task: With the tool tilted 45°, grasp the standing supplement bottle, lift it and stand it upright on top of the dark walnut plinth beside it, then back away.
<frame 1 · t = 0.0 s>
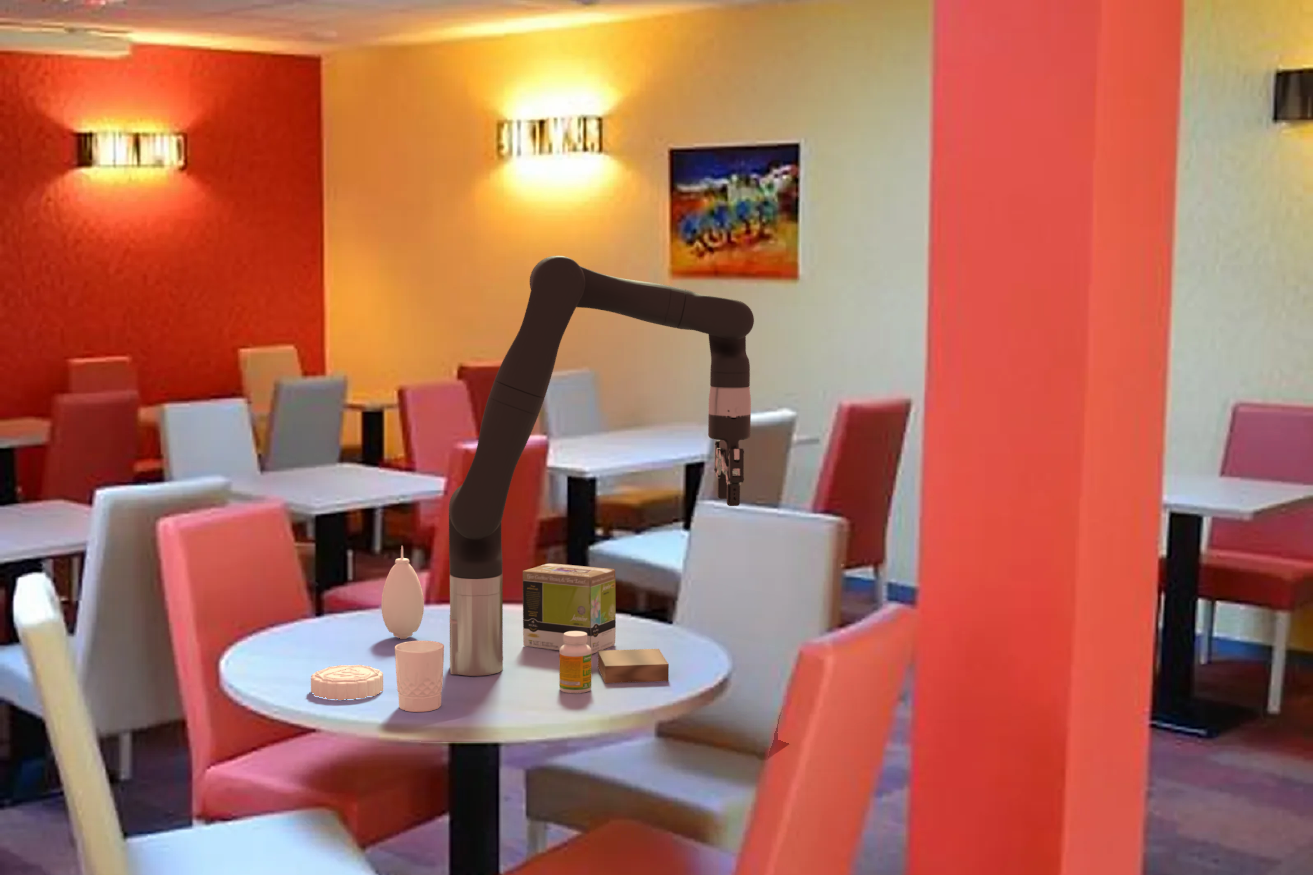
hand: (728, 502, 283), 29 cm above the table, tool pointing down, fingers open, 8 cm apart
peach drinking glass: (420, 707, 257), on the table
tea box: (569, 647, 298), on the table
walnut plinth: (632, 673, 278), on the table
supplement bottle: (575, 691, 267), on the table
air blower bulb: (403, 638, 303), on the table
mooncake: (347, 693, 266), on the table
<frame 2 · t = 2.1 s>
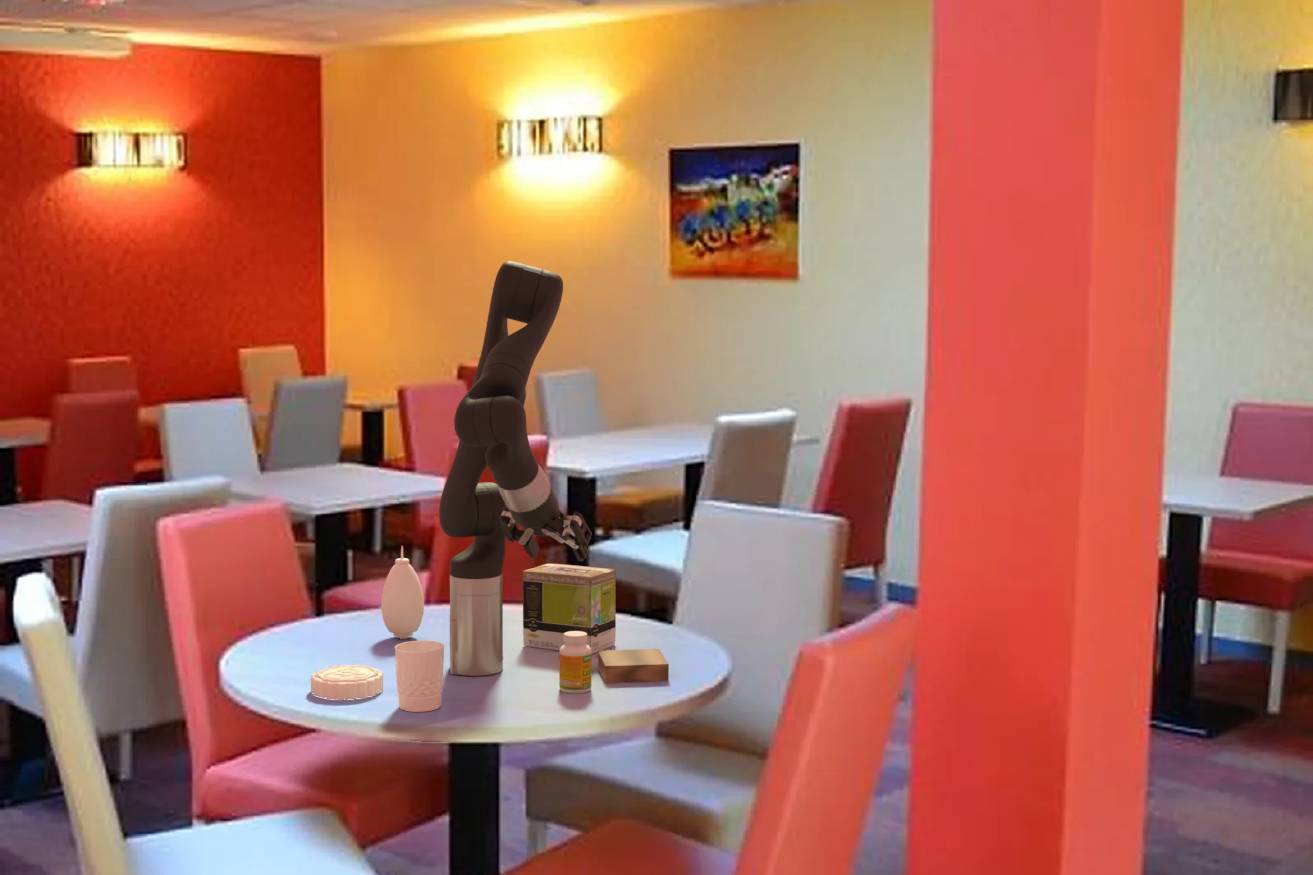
hand: (559, 555, 257), 24 cm above the table, tool tilted 45°, fingers open, 8 cm apart
nothing on the table moved.
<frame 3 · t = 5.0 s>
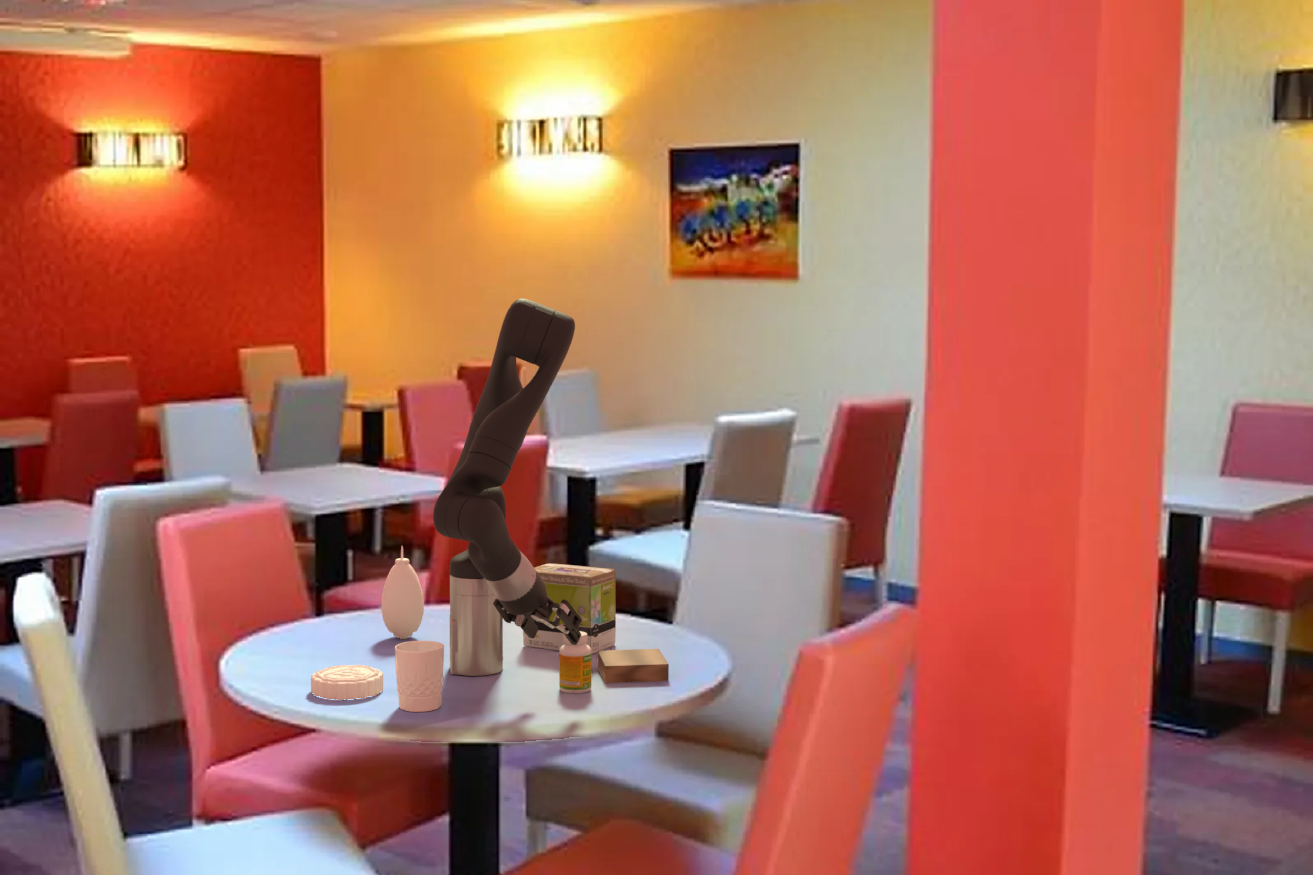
hand: (555, 637, 261), 10 cm above the table, tool tilted 45°, fingers open, 8 cm apart
nothing on the table moved.
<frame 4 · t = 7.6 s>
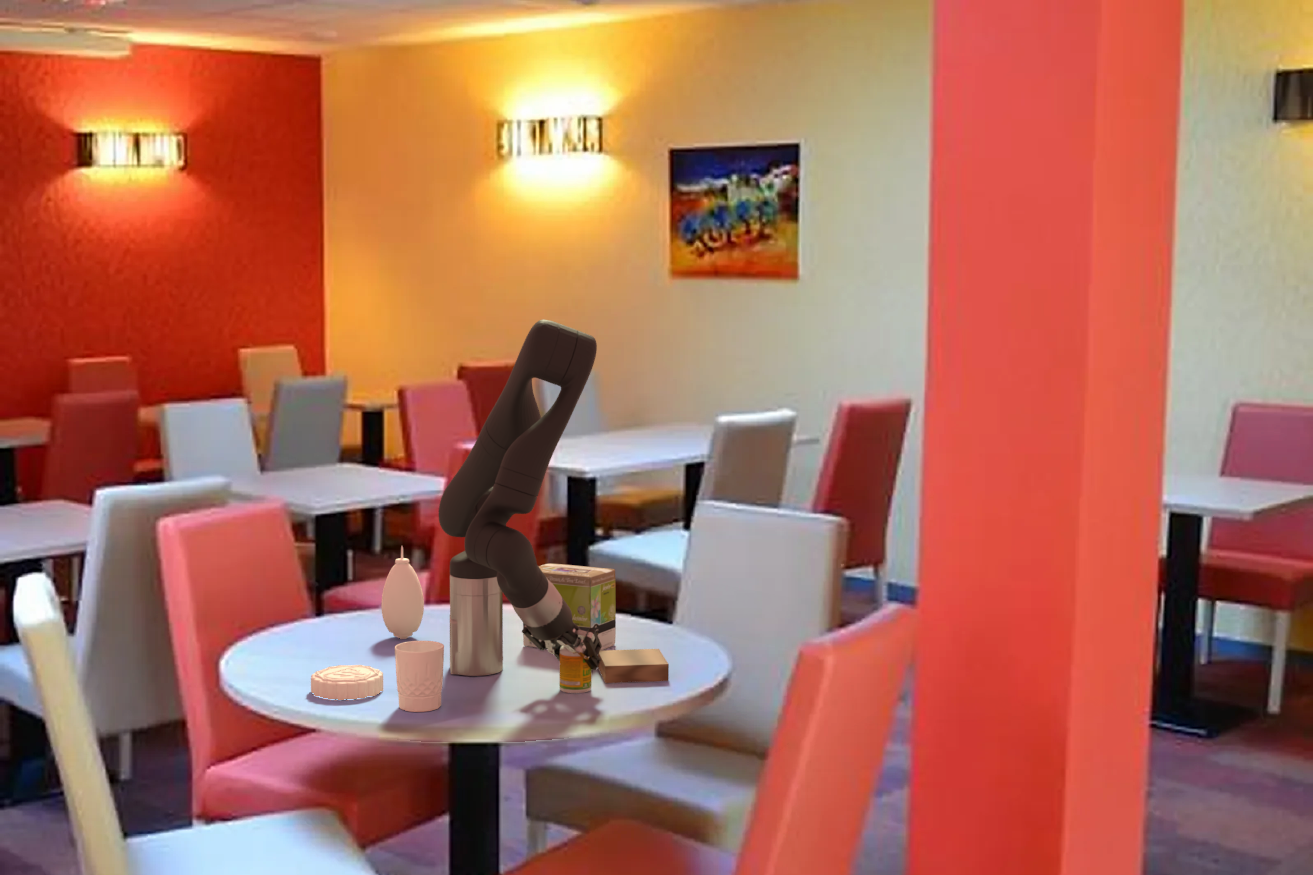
hand: (581, 662, 268), 4 cm above the table, tool tilted 45°, fingers closed on supplement bottle, 5 cm apart
supplement bottle: (575, 690, 267), on the table, touching gripper
everything else where it was.
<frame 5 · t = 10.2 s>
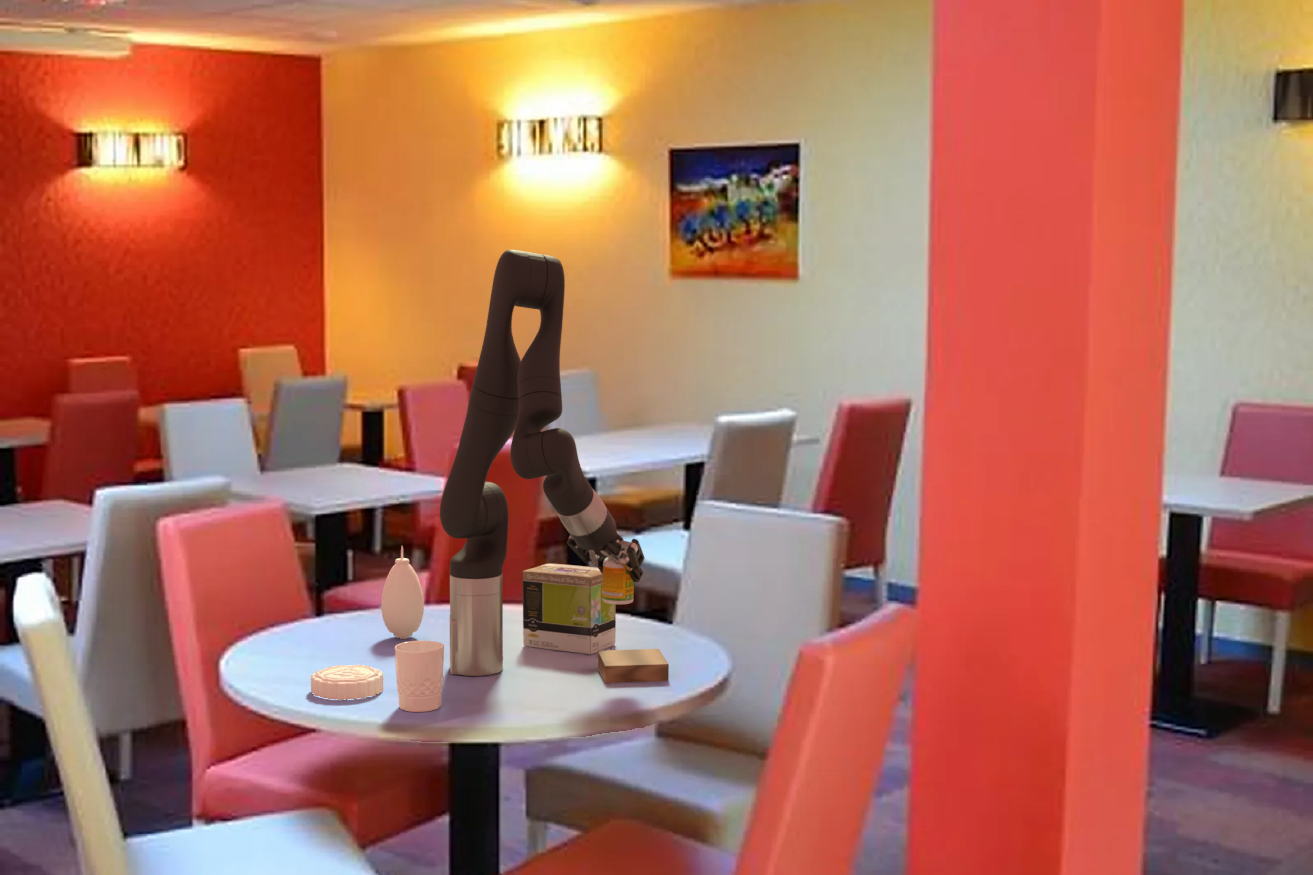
hand: (624, 575, 274), 18 cm above the table, tool tilted 45°, fingers closed on supplement bottle, 5 cm apart
supplement bottle: (617, 602, 273), point 13 cm above the table, touching gripper
everything else where it was.
when the fingers open (9 cm above the table, at t = 12.8 s): supplement bottle drops 1 cm, resting on walnut plinth.
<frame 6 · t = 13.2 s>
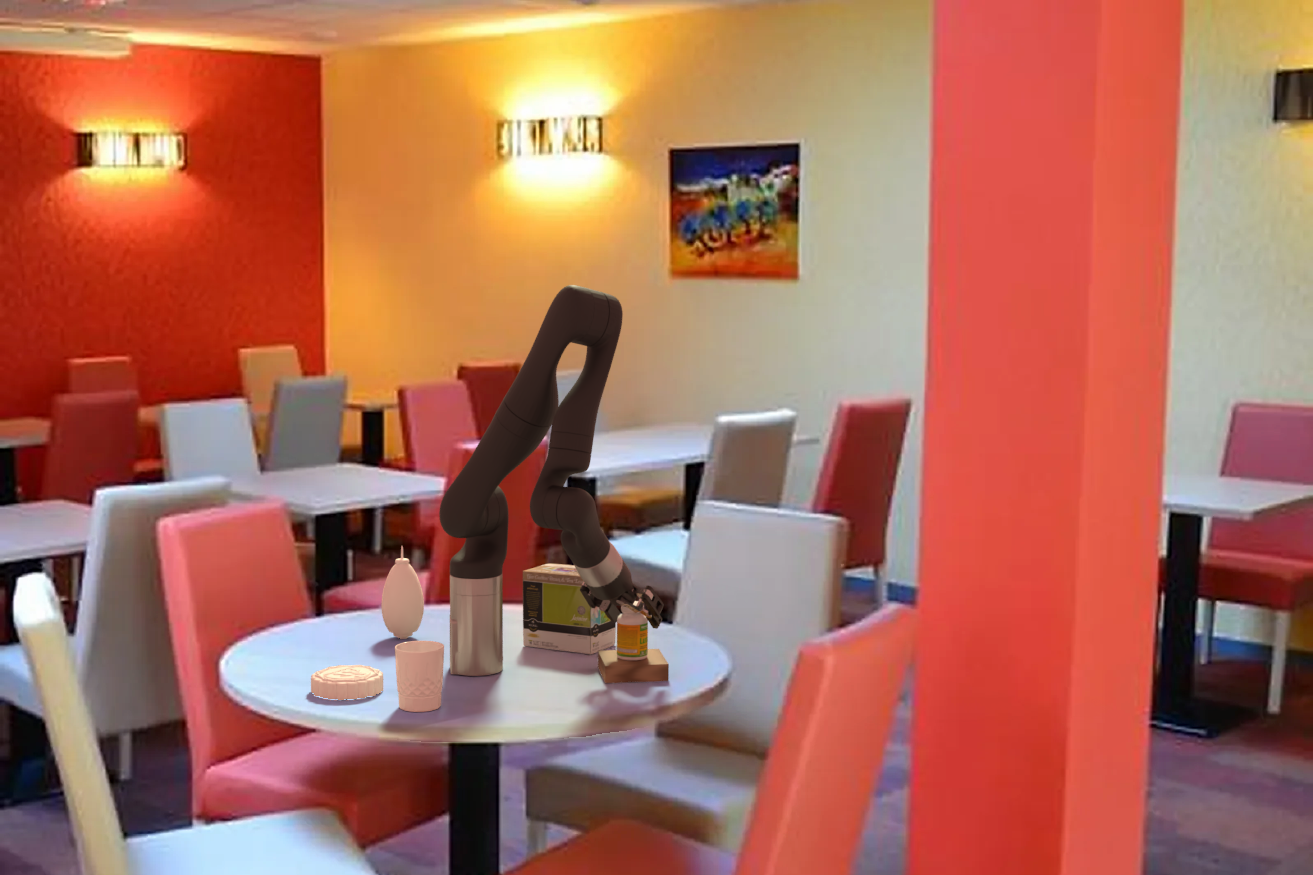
hand: (636, 621, 278), 9 cm above the table, tool tilted 45°, fingers open, 8 cm apart
supplement bottle: (632, 658, 277), point 3 cm above the table, touching walnut plinth
everything else where it was.
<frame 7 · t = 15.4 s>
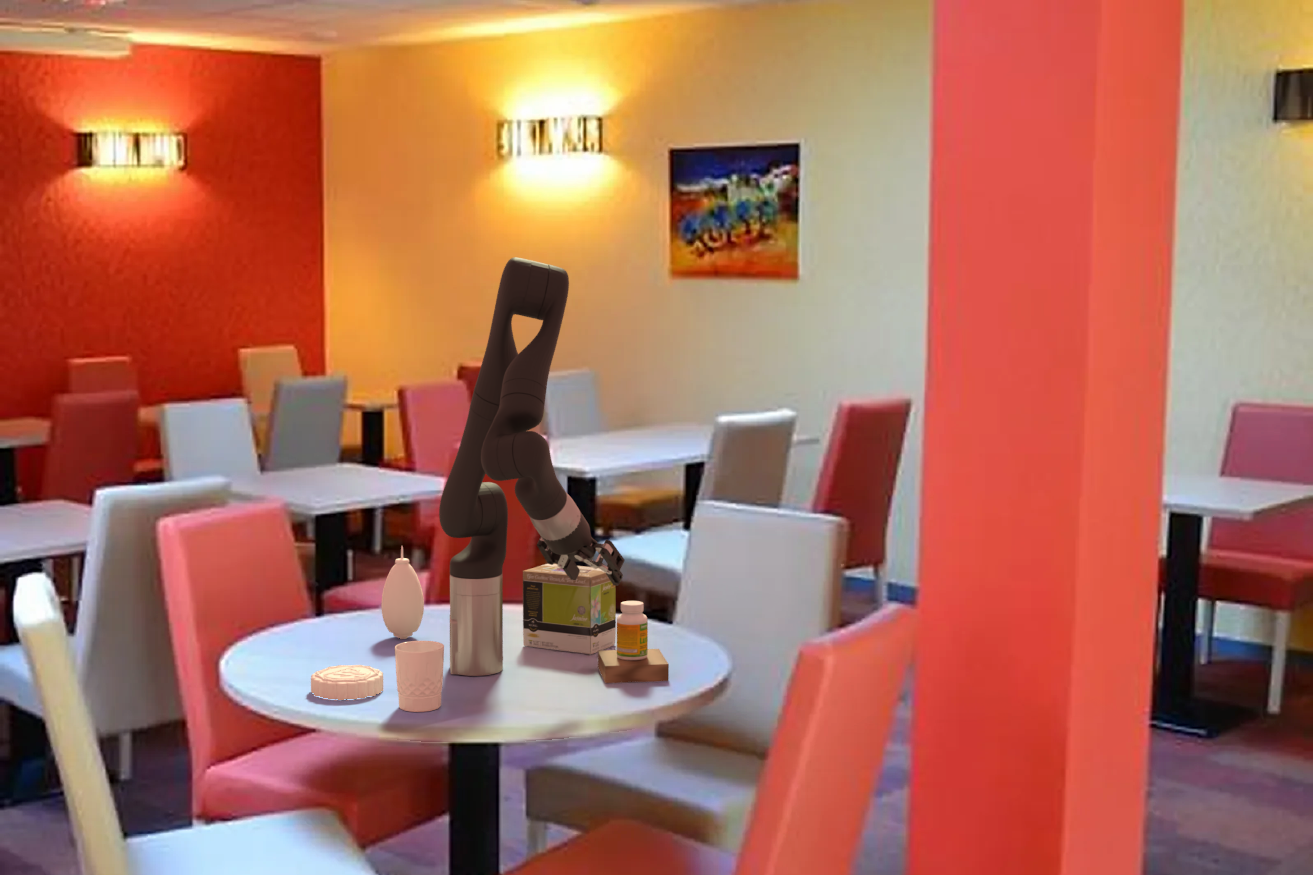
hand: (597, 578, 266), 19 cm above the table, tool tilted 45°, fingers open, 8 cm apart
nothing on the table moved.
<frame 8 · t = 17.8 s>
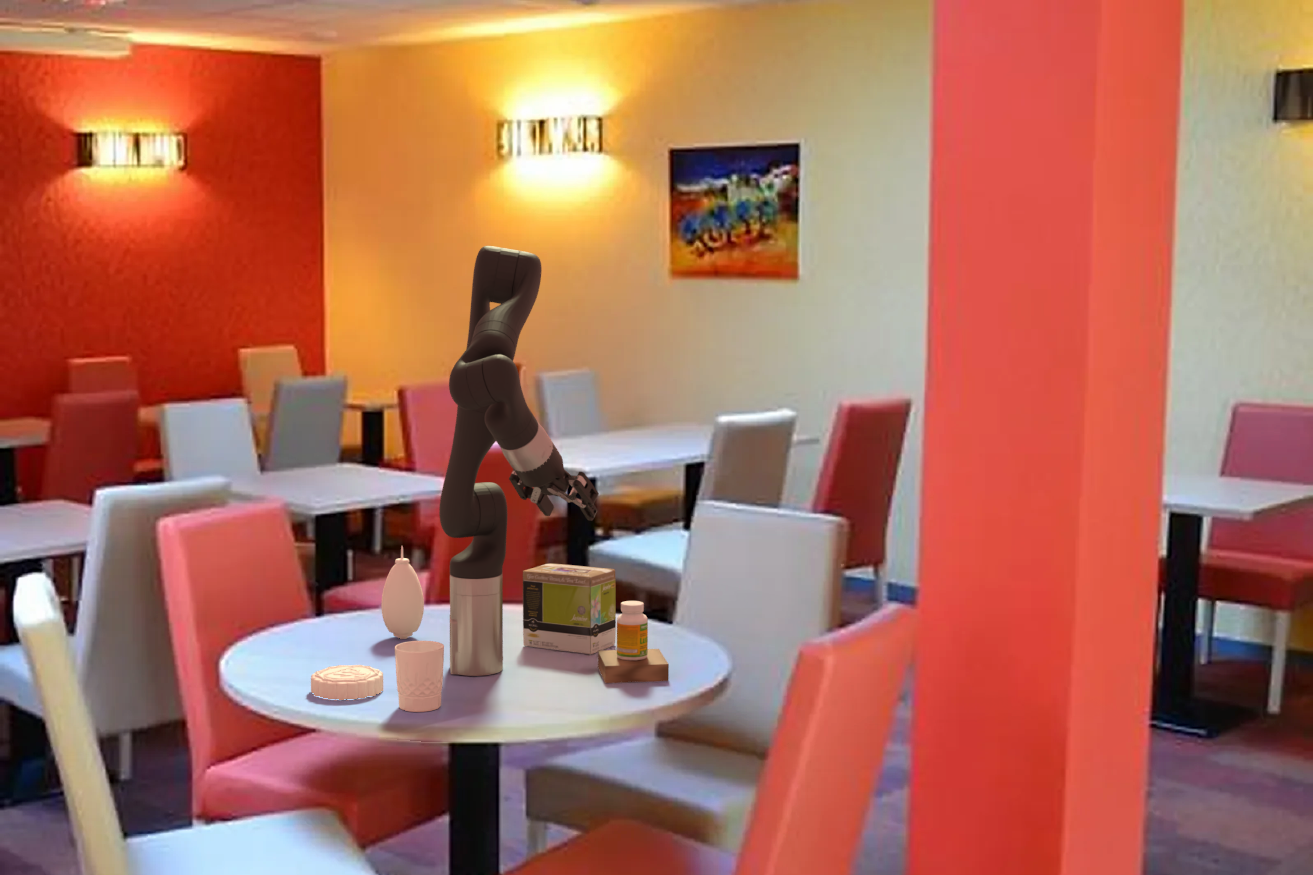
hand: (571, 514, 260), 31 cm above the table, tool tilted 45°, fingers open, 8 cm apart
nothing on the table moved.
at the end: supplement bottle inside the target area on the walnut plinth (0.2 cm from its centre), point 2.8 cm above the walnut plinth's base; supplement bottle tilted 0°; the gripper is holding nothing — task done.
